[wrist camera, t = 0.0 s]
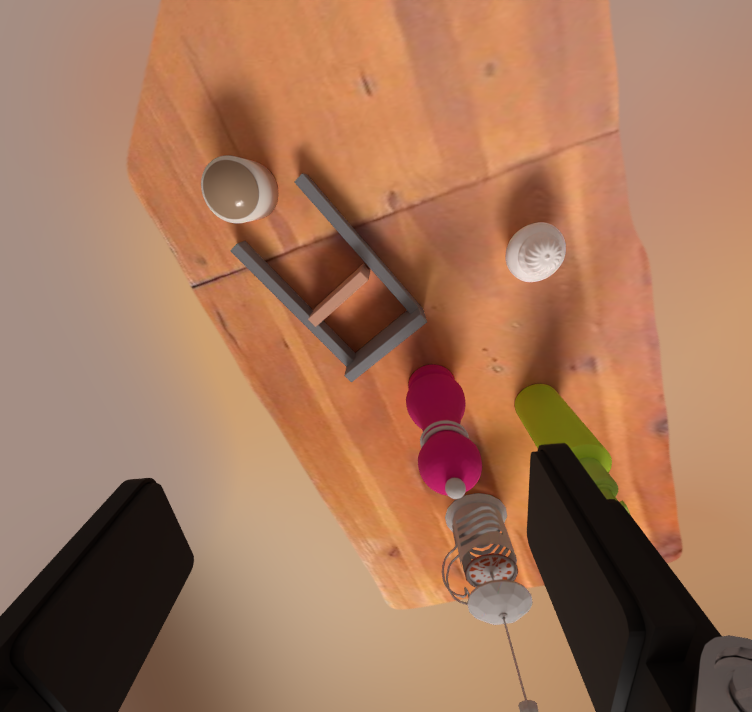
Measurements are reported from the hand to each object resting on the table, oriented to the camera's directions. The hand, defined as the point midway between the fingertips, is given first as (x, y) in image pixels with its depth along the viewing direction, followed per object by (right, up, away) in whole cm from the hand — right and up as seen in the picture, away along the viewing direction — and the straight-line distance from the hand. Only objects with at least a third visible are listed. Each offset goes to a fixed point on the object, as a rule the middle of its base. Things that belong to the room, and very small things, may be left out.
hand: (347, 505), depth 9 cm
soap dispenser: (+23, -3, +42) cm, 48 cm away
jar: (-13, +22, +32) cm, 41 cm away
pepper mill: (+8, 0, +41) cm, 42 cm away
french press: (+16, -22, +50) cm, 57 cm away
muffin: (+18, +16, +33) cm, 41 cm away
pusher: (-3, +12, +36) cm, 38 cm away
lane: (-4, +13, +35) cm, 38 cm away
